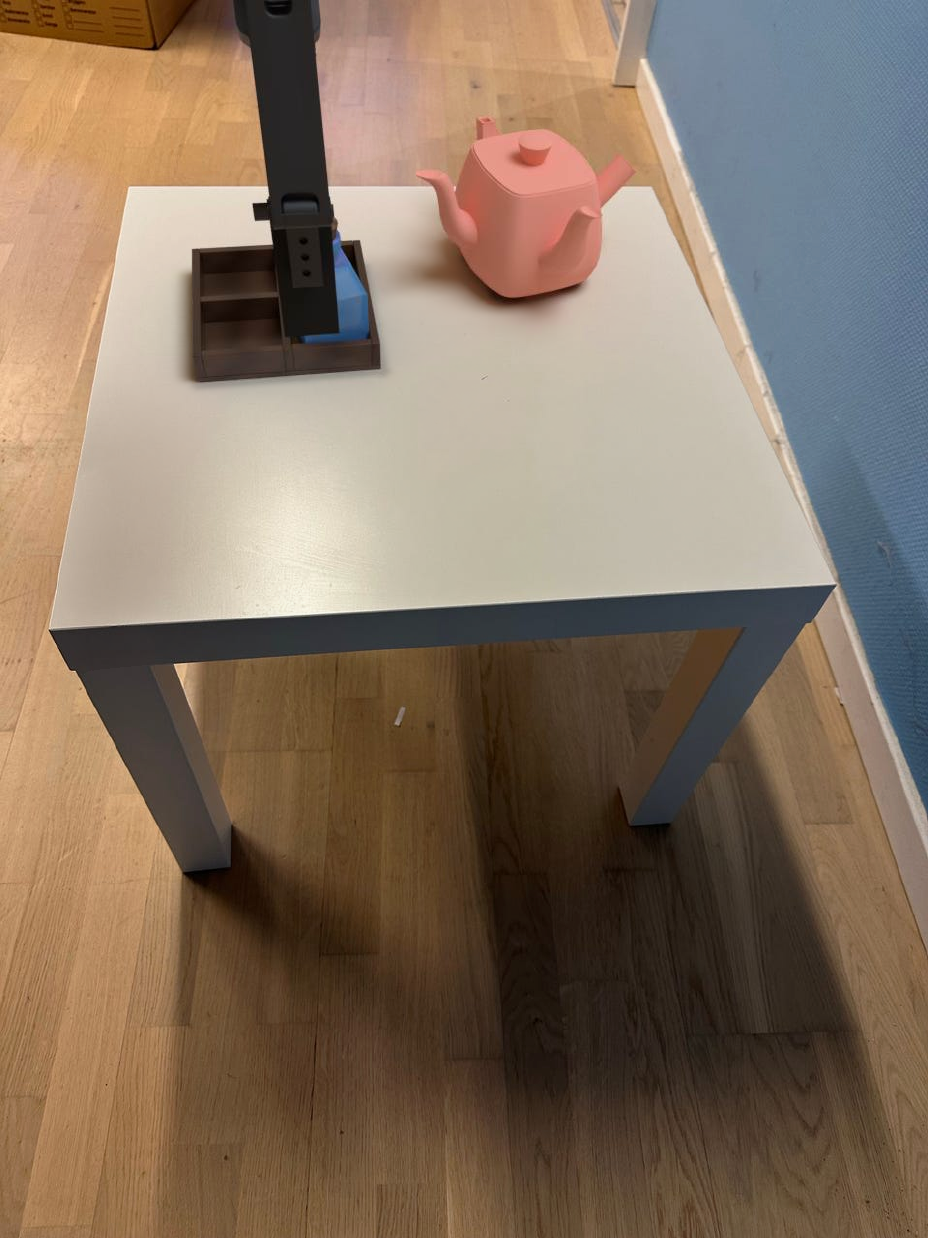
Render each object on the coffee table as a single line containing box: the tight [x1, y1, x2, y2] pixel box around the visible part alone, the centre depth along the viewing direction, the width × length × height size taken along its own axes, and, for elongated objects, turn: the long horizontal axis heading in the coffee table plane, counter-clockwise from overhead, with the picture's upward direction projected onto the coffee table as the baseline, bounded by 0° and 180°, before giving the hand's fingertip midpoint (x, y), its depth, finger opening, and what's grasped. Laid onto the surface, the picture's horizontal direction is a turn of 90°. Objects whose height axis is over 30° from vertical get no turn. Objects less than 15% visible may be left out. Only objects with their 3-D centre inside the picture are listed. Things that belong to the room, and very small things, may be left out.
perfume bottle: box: [297, 216, 369, 344], centre depth 84 cm, size 6×6×12 cm
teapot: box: [414, 115, 637, 298], centre depth 93 cm, size 18×18×14 cm
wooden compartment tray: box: [191, 239, 382, 383], centre depth 90 cm, size 17×17×3 cm
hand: (302, 253), depth 49 cm, fingers open, 13 cm apart
